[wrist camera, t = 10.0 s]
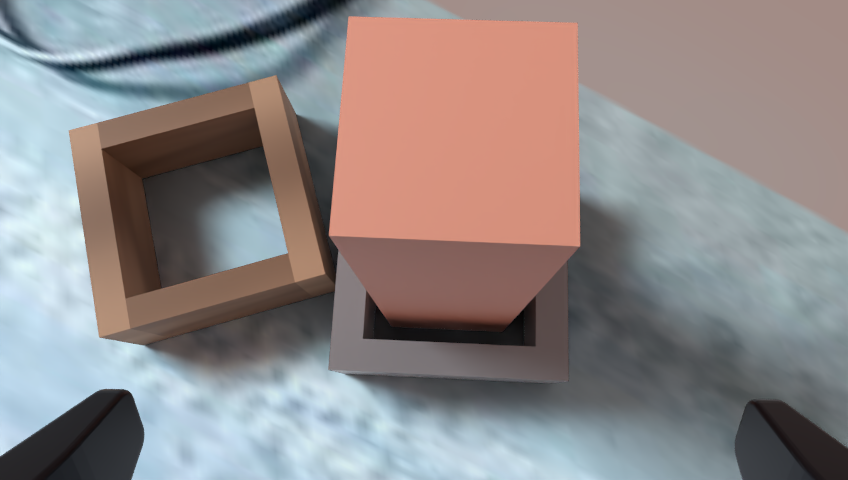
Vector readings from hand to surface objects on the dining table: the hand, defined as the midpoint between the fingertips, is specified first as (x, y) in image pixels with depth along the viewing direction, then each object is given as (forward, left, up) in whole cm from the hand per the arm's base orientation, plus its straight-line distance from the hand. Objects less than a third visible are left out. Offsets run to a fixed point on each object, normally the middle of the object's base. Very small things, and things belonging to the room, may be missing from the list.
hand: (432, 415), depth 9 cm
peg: (+4, -2, -13) cm, 14 cm away
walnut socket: (+9, +5, -13) cm, 17 cm away
